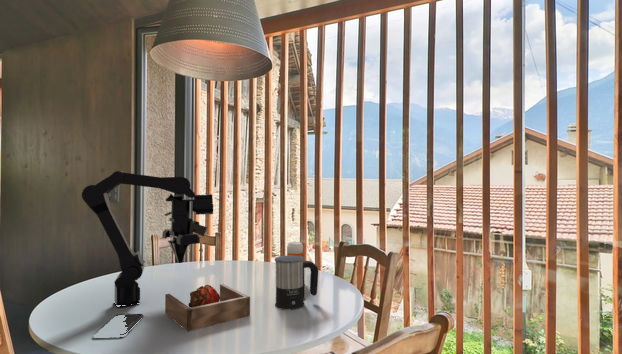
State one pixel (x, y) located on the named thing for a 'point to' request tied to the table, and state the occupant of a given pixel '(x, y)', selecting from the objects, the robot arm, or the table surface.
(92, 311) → the table surface
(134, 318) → the phone
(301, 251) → the white capped bottle
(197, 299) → the dragon fruit
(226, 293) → the box
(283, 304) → the milk frother
